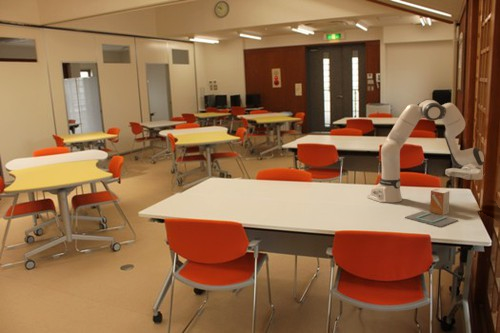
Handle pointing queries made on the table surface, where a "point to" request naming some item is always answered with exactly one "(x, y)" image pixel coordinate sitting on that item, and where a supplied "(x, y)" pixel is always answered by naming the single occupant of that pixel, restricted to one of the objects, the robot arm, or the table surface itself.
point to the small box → (439, 201)
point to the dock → (431, 219)
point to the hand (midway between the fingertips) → (455, 175)
